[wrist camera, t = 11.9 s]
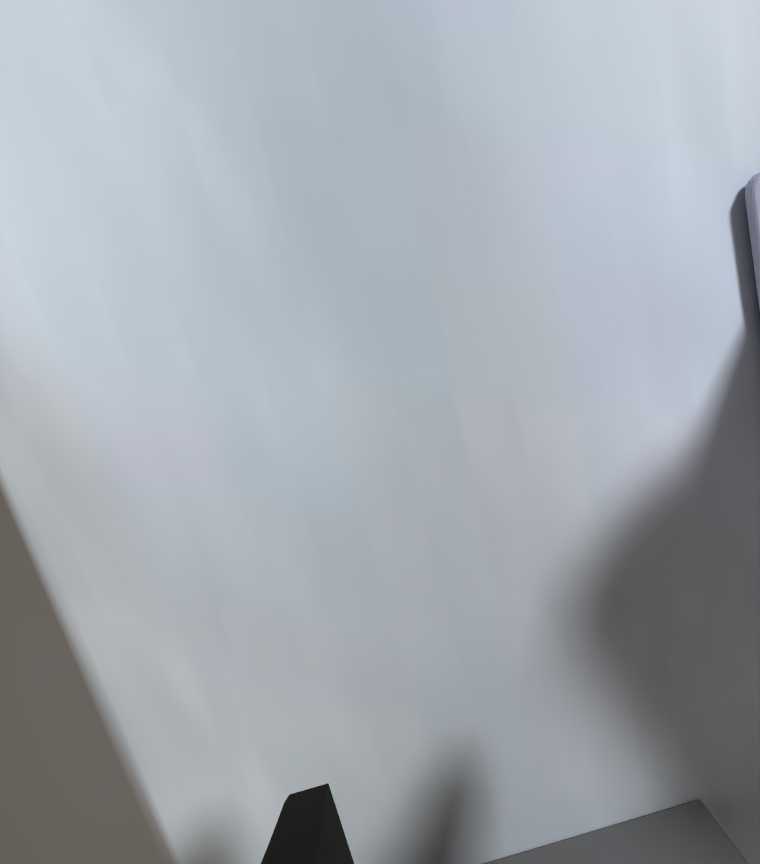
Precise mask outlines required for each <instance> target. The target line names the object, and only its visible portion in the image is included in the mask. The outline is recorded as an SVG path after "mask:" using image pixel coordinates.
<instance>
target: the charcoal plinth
mask: <svg viewBox="0 0 760 864" xmlns="http://www.w3.org/2000/svg"><path fill="white" fill-rule="evenodd" d="M486 864H748V863H747V861H746V860H745V859H744V857H743V856H742V855H741V853H740V852H739V851H738V850H737V848H736V847H735V846H734V844H733V843H732V842H731V840H730V839H729V838H728V836H727V835H726V834H725V832H724V831H723V830H722V828H721V827H720V826H719V825H718V823H717V822H716V821H715V819H714V818H713V817H712V815H711V814H710V813H709V811H708V810H707V809H706V807H705V806H704V805H703V803H702V802H701V801H700V800H697V801H694V802H690V803H687V804H683V805H680V806H677V807H673V808H670V809H667V810H663V811H660V812H657V813H653V814H650V815H647V816H643V817H640V818H637V819H633V820H630V821H627V822H623V823H620V824H616V825H613V826H610V827H606V828H603V829H600V830H596V831H593V832H590V833H586V834H583V835H580V836H576V837H573V838H570V839H566V840H563V841H560V842H556V843H553V844H549V845H546V846H543V847H539V848H536V849H533V850H529V851H526V852H523V853H519V854H516V855H513V856H509V857H506V858H503V859H499V860H496V861H492V862H489V863H486Z"/></svg>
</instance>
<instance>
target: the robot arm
mask: <svg viewBox="0 0 760 864" xmlns="http://www.w3.org/2000/svg"><path fill="white" fill-rule="evenodd" d="M745 201H746V209H747V217H748V224H749V232H750V240H751V248H752V255H753V263H754V271H755V278H756V286H757V294H758V302H759V309H760V173H758V174H756V175H754V176H753V177H752V178H751V179H750V180H749V181H748V183H747V186H746V188H745ZM261 864H354V862H353V859H352V856H351V853H350V850H349V847H348V843H347V840H346V837H345V834H344V831H343V828H342V825H341V822H340V819H339V815H338V812H337V809H336V806H335V803H334V800H333V797H332V794H331V790H330V787H329V784H325V785H321V786H318V787H314V788H311V789H307V790H304V791H301V792H297V793H294V794H290V795H289V796H288V798H287V800H286V801H285V803H284V805H283V808H282V811H281V813H280V816H279V819H278V821H277V824H276V827H275V829H274V832H273V835H272V837H271V840H270V842H269V845H268V848H267V850H266V853H265V855H264V858H263V860H262V862H261Z"/></svg>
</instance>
